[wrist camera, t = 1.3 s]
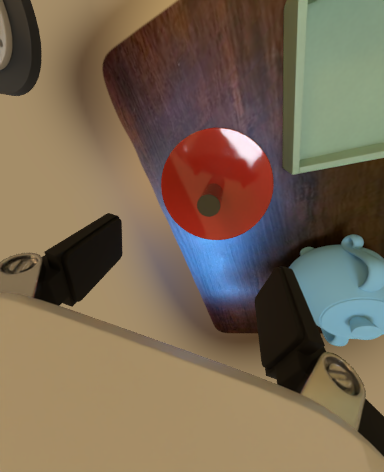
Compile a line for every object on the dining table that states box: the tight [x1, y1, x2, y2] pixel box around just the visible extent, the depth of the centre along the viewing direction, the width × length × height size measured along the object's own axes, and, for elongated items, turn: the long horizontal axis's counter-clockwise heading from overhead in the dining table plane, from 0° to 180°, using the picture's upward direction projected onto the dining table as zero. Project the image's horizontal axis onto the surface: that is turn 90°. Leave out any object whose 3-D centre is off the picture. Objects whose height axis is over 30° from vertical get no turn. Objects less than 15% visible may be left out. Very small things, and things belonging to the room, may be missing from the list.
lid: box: [161, 128, 273, 240], centre depth 19 cm, size 14×14×6 cm
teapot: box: [289, 234, 384, 346], centre depth 29 cm, size 16×20×14 cm
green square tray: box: [283, 0, 384, 175], centre depth 18 cm, size 18×18×6 cm
